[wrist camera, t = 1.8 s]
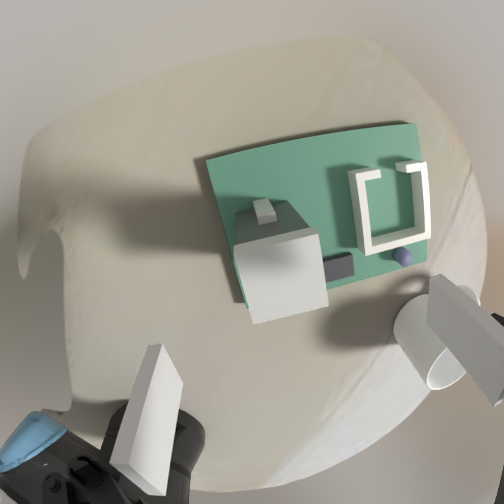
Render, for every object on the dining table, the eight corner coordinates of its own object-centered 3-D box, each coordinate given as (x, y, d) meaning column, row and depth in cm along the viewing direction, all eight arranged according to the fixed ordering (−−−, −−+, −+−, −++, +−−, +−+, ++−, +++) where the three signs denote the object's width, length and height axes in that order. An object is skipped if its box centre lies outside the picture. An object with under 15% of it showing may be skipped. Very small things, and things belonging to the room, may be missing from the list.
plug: (247, 261, 30) (253, 324, 20) (233, 205, 28) (230, 244, 17) (298, 249, 30) (328, 305, 19) (286, 193, 28) (316, 224, 17)
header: (357, 248, 30) (365, 255, 28) (347, 171, 27) (355, 173, 25) (420, 231, 30) (430, 237, 28) (414, 159, 27) (426, 161, 25)
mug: (434, 258, 32) (484, 296, 23) (462, 284, 34) (506, 320, 25) (380, 331, 36) (413, 383, 26) (413, 348, 38) (446, 394, 28)
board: (246, 303, 33) (247, 318, 30) (206, 159, 27) (203, 161, 24) (421, 256, 32) (434, 266, 29) (410, 123, 26) (425, 123, 24)
